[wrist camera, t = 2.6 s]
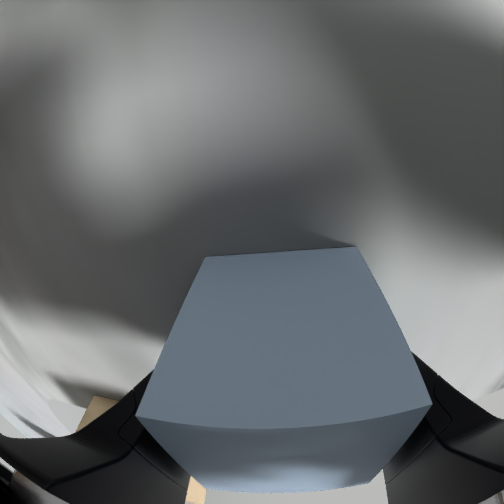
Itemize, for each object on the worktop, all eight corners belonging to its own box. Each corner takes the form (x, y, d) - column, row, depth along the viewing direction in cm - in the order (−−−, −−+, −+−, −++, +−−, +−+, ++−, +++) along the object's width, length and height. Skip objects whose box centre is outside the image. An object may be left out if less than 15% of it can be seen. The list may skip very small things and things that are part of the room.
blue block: (356, 246, 9) (432, 404, 3) (345, 353, 11) (368, 483, 5) (205, 256, 9) (135, 415, 4) (229, 359, 11) (205, 488, 6)
